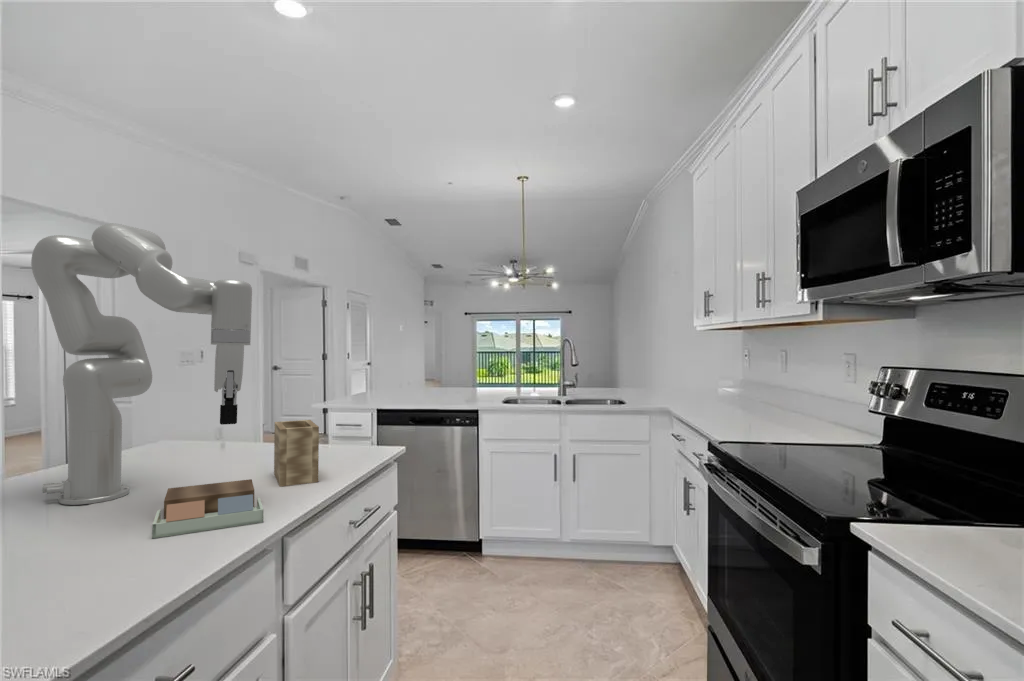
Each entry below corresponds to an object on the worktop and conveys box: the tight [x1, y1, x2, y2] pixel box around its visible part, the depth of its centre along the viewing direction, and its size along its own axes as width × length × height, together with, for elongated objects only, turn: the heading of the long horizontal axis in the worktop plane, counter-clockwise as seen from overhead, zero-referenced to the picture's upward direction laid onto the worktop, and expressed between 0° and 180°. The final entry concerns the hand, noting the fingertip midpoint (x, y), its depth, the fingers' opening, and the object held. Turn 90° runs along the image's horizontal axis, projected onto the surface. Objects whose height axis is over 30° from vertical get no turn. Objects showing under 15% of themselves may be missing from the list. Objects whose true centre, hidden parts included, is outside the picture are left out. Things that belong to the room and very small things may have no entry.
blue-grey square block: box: [218, 494, 253, 515], centre depth 103 cm, size 6×6×3 cm
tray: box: [151, 496, 264, 539], centre depth 102 cm, size 18×10×2 cm, turn 120°
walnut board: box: [163, 479, 255, 519], centre depth 111 cm, size 16×10×4 cm, turn 120°
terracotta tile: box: [166, 500, 205, 522], centre depth 99 cm, size 6×6×3 cm
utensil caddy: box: [273, 419, 320, 488], centre depth 136 cm, size 9×14×14 cm, turn 30°
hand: (228, 423), depth 112 cm, fingers closed
